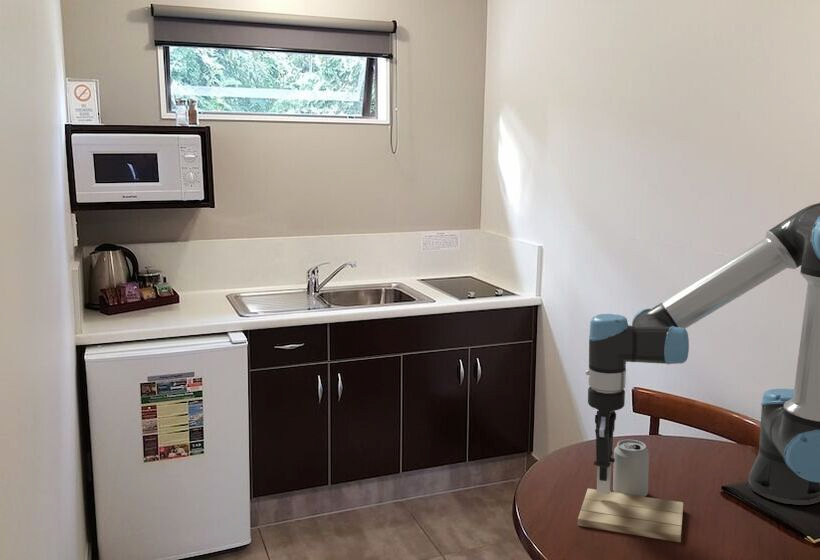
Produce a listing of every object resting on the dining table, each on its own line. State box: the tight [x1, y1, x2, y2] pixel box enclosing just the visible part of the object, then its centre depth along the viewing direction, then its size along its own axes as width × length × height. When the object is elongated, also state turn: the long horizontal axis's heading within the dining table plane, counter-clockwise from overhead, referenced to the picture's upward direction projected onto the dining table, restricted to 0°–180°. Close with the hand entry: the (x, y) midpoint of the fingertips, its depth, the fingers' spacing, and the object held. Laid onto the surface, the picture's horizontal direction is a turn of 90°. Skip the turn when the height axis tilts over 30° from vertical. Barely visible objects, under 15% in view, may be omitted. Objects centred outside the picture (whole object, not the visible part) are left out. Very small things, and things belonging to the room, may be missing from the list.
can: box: [612, 439, 650, 497], centre depth 162 cm, size 8×8×12 cm
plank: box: [580, 488, 684, 531], centre depth 155 cm, size 20×10×2 cm, turn 68°
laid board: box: [577, 509, 683, 543], centre depth 148 cm, size 20×4×2 cm, turn 68°
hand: (603, 491), depth 158 cm, fingers closed
